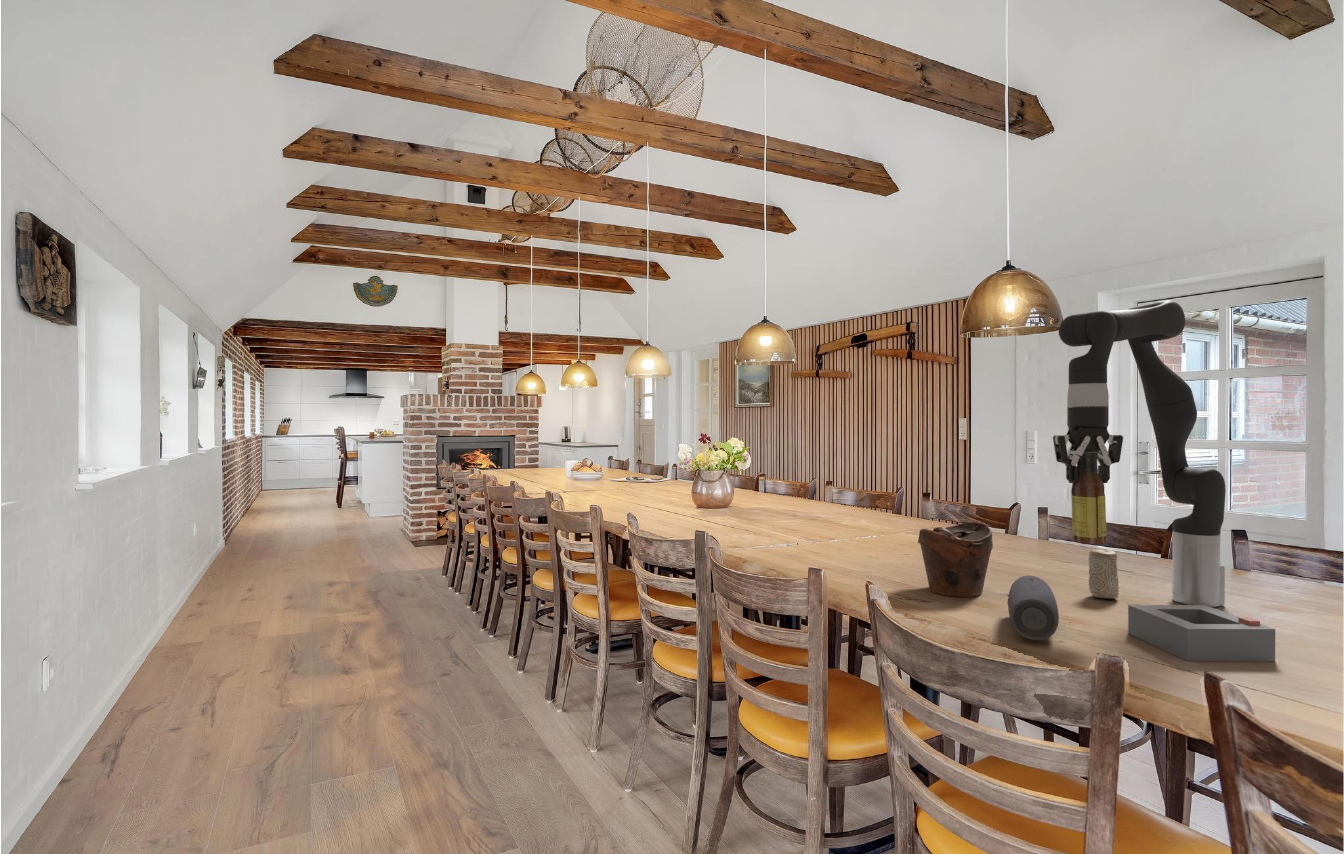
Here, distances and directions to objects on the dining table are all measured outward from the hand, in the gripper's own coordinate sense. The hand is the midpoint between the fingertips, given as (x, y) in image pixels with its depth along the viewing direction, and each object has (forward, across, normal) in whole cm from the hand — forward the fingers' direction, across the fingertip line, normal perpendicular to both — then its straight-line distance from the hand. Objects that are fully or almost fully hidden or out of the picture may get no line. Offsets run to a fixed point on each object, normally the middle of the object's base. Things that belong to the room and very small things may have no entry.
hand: (1087, 482), depth 140 cm
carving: (+32, -19, -24) cm, 44 cm away
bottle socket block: (+31, -14, +12) cm, 36 cm away
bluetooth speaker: (+32, +13, +2) cm, 34 cm away
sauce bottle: (+13, 0, 0) cm, 13 cm away
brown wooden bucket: (+32, +16, -30) cm, 46 cm away
